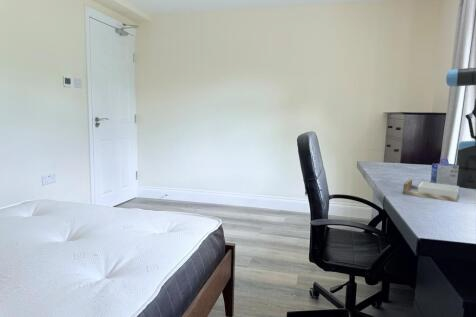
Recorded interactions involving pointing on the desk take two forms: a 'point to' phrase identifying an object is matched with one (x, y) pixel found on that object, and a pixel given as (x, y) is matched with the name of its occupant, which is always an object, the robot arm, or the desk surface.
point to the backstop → (409, 186)
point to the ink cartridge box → (444, 173)
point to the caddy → (438, 189)
